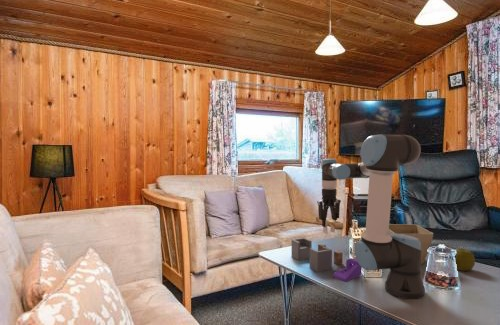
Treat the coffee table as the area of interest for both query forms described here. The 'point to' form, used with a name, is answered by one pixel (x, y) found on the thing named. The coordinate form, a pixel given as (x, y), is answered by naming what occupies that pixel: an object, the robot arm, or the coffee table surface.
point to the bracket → (349, 270)
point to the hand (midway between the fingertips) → (328, 232)
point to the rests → (337, 254)
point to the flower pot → (414, 235)
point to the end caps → (312, 254)
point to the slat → (331, 223)
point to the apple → (464, 260)
